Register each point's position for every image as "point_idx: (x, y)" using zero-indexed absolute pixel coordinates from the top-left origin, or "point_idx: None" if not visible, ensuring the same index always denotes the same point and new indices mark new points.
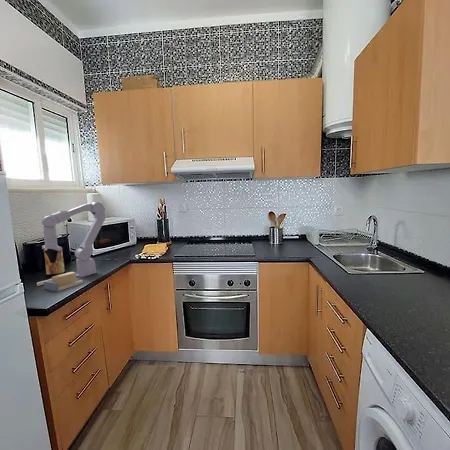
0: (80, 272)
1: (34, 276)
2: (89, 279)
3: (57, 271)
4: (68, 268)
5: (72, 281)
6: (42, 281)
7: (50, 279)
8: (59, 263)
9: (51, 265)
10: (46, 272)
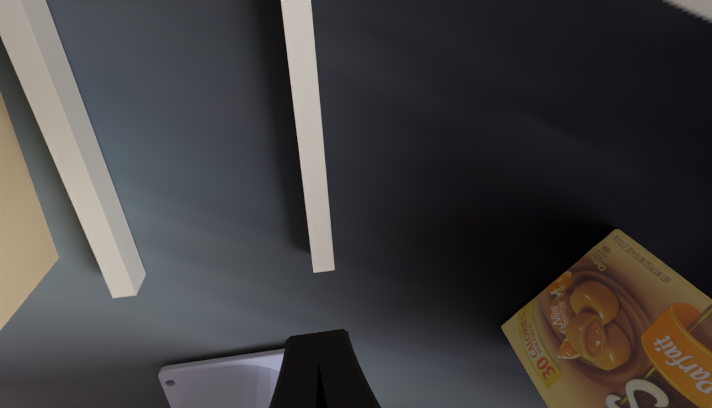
0: (200, 403)
1: (706, 136)
2: (15, 372)
3: (545, 310)
4: None
5: None
6: (303, 38)
7: (299, 142)
8: (576, 401)
9: (639, 333)
10: (634, 241)
